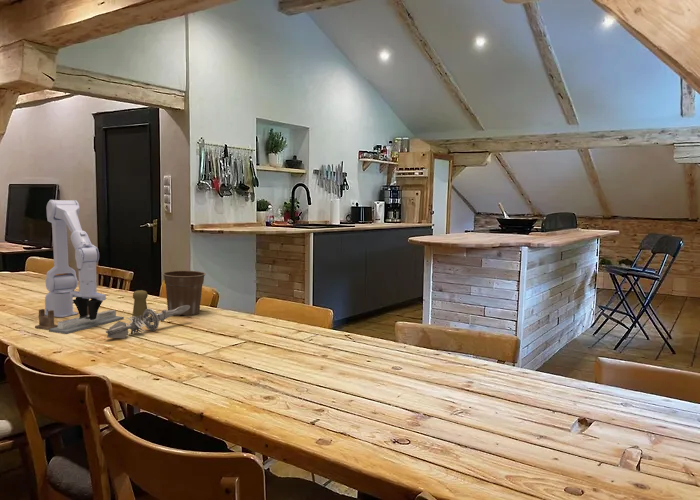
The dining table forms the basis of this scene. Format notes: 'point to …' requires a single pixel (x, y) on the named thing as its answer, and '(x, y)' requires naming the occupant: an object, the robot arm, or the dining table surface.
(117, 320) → the long grey plate
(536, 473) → the dining table surface
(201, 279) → the plant pot
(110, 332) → the spaceship
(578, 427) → the dining table surface
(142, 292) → the cork
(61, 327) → the steel rail
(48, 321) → the cradle rack
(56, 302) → the robot arm
